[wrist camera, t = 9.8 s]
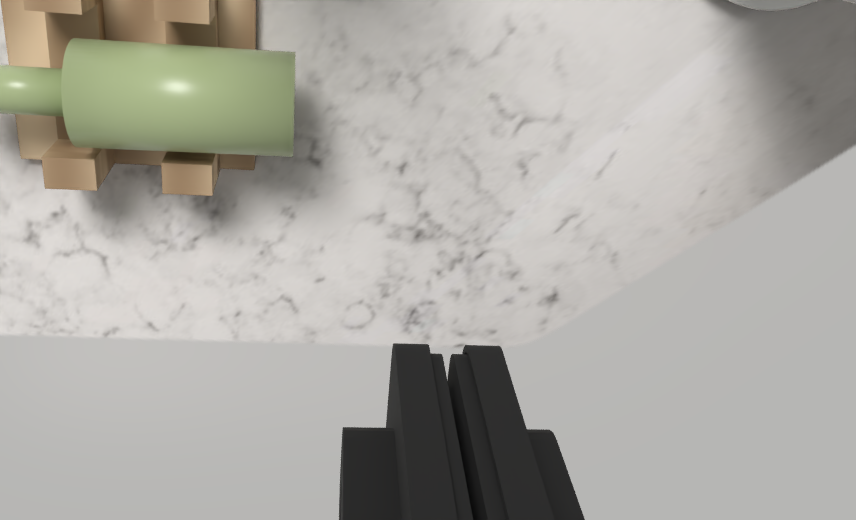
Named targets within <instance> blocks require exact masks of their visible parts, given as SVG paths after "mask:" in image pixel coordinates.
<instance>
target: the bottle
mask: <svg viewBox="0 0 856 520" xmlns="http://www.w3.org/2000/svg"><path fill="white" fill-rule="evenodd" d="M294 112H295V52H284V51H269V50H253V49H237V48H222V47H206V46H190V45H175V44H159V43H144V42H128V41H112V40H97V39H81V38H73V39H71V40H70V42H69V43H68V45H67V48H66V50H65V54H64V59H63V66H62V69H61V68H44V67H27V66H10V65H0V114H20V115H40V116H60V117H64V122H65V126H66V130H67V133H68V136H69V139H70V141H71V142H72V144H73V145H74V146H75V147H79V148H102V149H125V150H148V151H170V152H193V153H216V154H239V155H262V156H285V157H293V146H294Z"/></svg>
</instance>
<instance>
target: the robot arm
mask: <svg viewBox="0 0 856 520" xmlns="http://www.w3.org/2000/svg"><path fill="white" fill-rule="evenodd" d="M728 1H730V2H732V3H734V4H736V5H740V6H743V7H747V8H750V9H754V10H765V11H780V10H788V9H795V8H798V7H802V6H805V5H808V4H811V3H814V2H817V1H819V0H728ZM842 1H846V2H850V3H853V4H856V0H842ZM342 433H343V434H342V450H341V473H340V500H339V520H585V519H584V516H583V514H582V511H581V508H580V505H579V502H578V499H577V497H576V494H575V491H574V488H573V485H572V483H571V480H570V477H569V474H568V471H567V469H566V465H565V463H564V460H563V457H562V454H561V452H560V449H559V446H558V443H557V440H556V438H555V436H554V434H553V432H552V431H550V430H527V429H526V426H525V423H524V419H523V416H522V413H521V410H520V407H519V403H518V400H517V397H516V393H515V390H514V387H513V384H512V381H511V377H510V374H509V371H508V368H507V365H506V361H505V358H504V354H503V351H502V349H501V347H500V346H477V345H465V347H464V349H463V354H452V355H451V358H450V364H449V373H448V381H447V377H446V372H445V367H444V361H443V357H442V354H430V348H429V345H428V344H393V349H392V359H391V371H390V384H389V396H388V410H387V422H386V428H353V427H351V428H350V427H347V428H346V427H345V428H344V427H343V432H342Z"/></svg>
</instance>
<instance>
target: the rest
mask: <svg viewBox="0 0 856 520" xmlns="http://www.w3.org/2000/svg"><path fill="white" fill-rule="evenodd" d="M1 6H2V14H3V22H4V30H5V37H6V45H7V53H8V61H9V65H10V66H27V67H44V68H61V69H62V66H63V59H64V54H65V50H66V48H67V45H68V43H69V42H70V40H71V39H73V38H81V39H97V40H112V41H128V42H144V43H159V44H175V45H190V46H206V47H222V48H237V49H253V50H256V0H1ZM15 116H16V124H17V132H18V140H19V148H20V156H21V159H39V160H42V167H43V176H44V184H45V188H47V189H69V190H92V191H97V190H98V188H99V187H100V185H101V184H102V182H103V181H104V179H105V178H106V176H107V174H108V173H109V171H110V170H111V168H112V167H113V165H114V164H115V163H120V164H140V165H160V166H161V169H162V190H163V194H183V195H206V196H212V195H213V192H214V189H215V185H216V182H217V178H218V175H219V171H220V168H221V169H241V170H254V168H255V155H239V154H216V153H193V152H170V151H148V150H125V149H102V148H79V147H75V146H74V145H73V144H72V142H71V141H70V139H69V136H68V133H67V130H66V126H65V122H64V117H60V116H40V115H20V114H15Z"/></svg>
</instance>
